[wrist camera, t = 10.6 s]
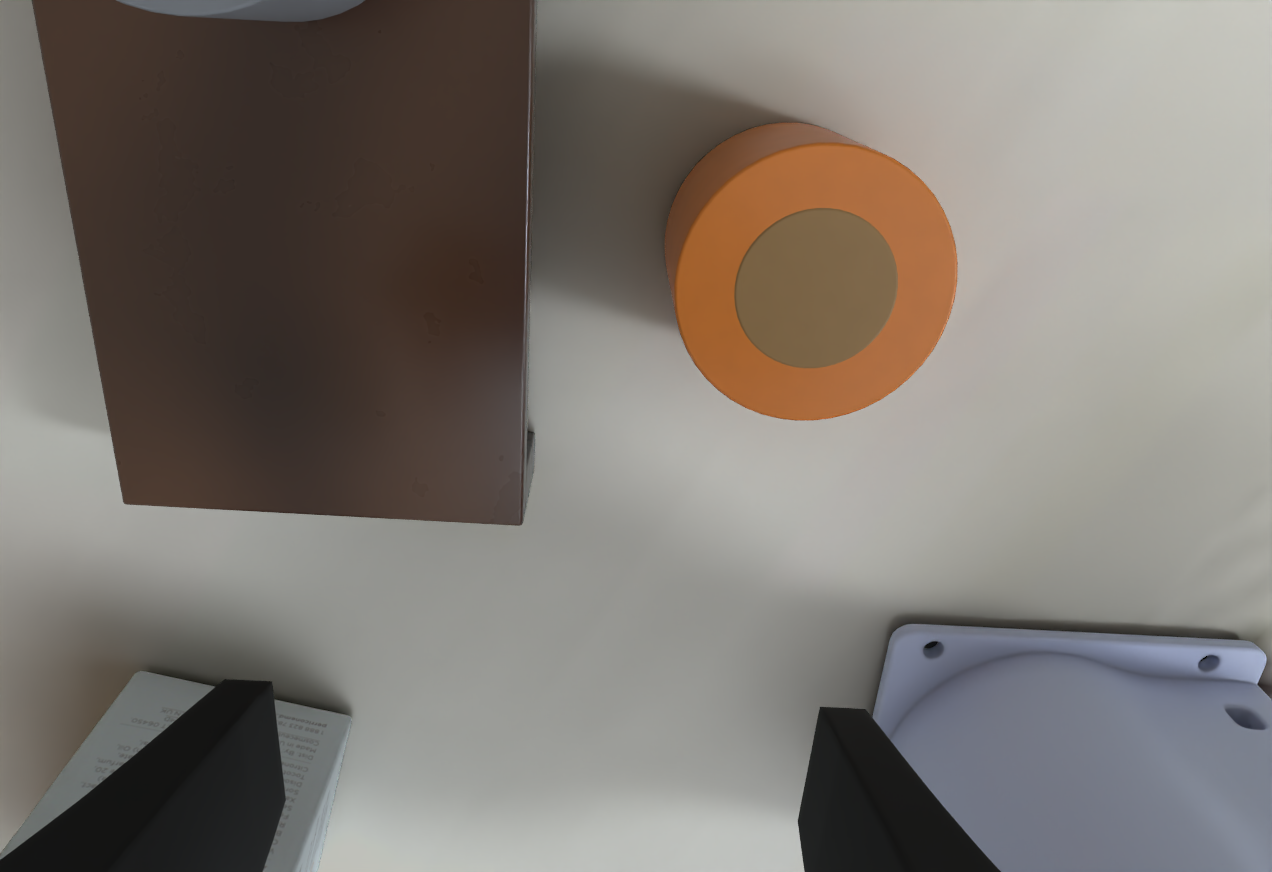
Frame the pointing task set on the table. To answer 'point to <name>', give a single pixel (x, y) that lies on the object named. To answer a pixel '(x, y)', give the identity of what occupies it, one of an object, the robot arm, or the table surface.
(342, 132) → the brown rectangular block
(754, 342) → the orange tape
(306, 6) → the grey tape
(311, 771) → the small box
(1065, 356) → the table surface
